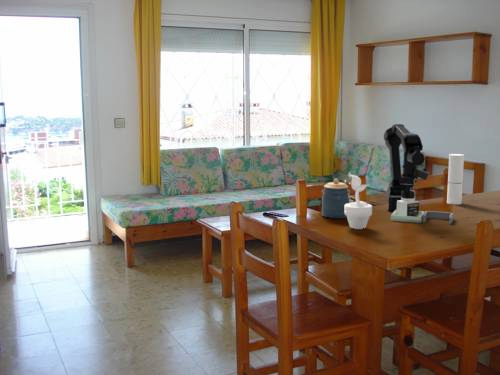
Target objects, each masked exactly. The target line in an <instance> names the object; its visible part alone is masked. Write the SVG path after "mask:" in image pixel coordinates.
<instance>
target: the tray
mask: <svg viewBox="0 0 500 375" xmlns="http://www.w3.org/2000/svg"><path fill="white" fill-rule="evenodd" d="M424 213H425V211H423V210H422V211H420V210H419V217H416V216H402V215H397V210H395V211H394V212H392V213H391V215H390V221H391V222H393V221H395V222H405V223H418V224H420V223H421V224H422V223H423V214H424Z"/></svg>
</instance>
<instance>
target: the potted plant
mask: <svg viewBox="0 0 500 375" xmlns="http://www.w3.org/2000/svg"><path fill="white" fill-rule="evenodd" d="M347 175H348V177H349V178H351V182H350V181H349V182H348V184H349V185H351V188H352V190H353V191H354V192H355V193H354V195H355V196H354V197H355V201H353V202H350V203H348V204H345V205H344V214H345V215H346V216H347V218H346V219H347V222H348V225H349V228H351V229H353V228H354V230H364V229H365V228H366V227H367V224H368V222H369V219H370V217H372V215H373V205H372V204H370V203H368V202H365V201H362V200H360V192H363V191H364V190H366V188H367V187H370V186H371V184H362V179H361V178H360V177H359V176H358V175H354V174H352V173H351V171H349V172H348V173H347ZM346 182H347V180H346V179H344V183H346ZM363 228H364V229H363Z"/></svg>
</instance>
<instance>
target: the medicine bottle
mask: <svg viewBox="0 0 500 375" xmlns="http://www.w3.org/2000/svg"><path fill="white" fill-rule="evenodd" d="M401 199H402V200H398V201H397V215H402V216H416V217H419V211H420V201H419V200H416V191H415V190H414V189H413V190H410V195H409V199H406V197H405V195H404V192H403V191H402V192H401Z"/></svg>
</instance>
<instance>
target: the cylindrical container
mask: <svg viewBox="0 0 500 375" xmlns="http://www.w3.org/2000/svg"><path fill="white" fill-rule="evenodd" d="M464 161H465V154H463V153H462V154H461V153H449V155H448V169H447V170H448V172H447V174H448V175H447V191H446V192H447V193H446V194H447V196H446V204H448V205H462V202H463V201H462V200H463V183H464V181H463V180H464V167H465V166H464V165H465V162H464Z"/></svg>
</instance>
